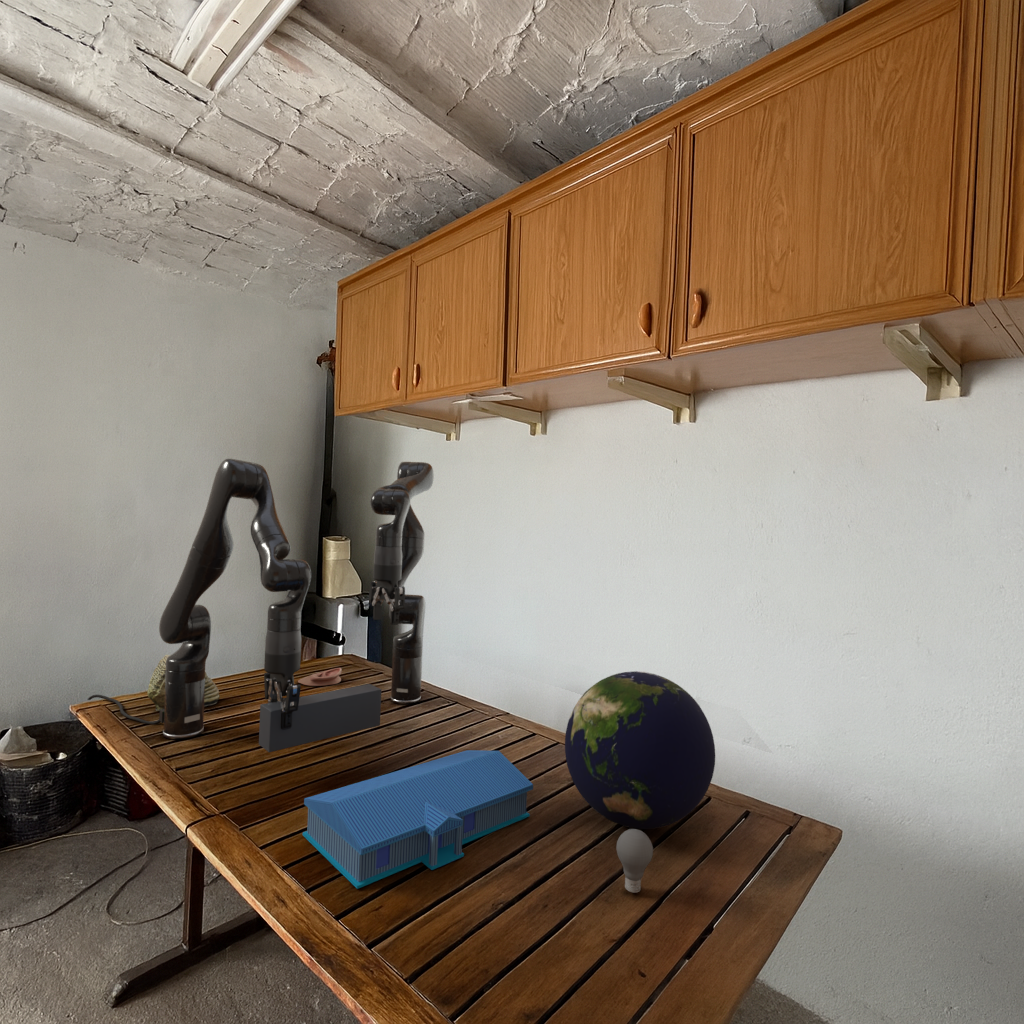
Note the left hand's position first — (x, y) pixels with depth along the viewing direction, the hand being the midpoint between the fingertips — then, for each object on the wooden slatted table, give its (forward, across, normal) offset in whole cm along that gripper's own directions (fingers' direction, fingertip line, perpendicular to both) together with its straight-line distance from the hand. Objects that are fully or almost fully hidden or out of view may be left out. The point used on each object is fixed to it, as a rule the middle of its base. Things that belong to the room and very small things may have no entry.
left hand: (280, 724), depth 141 cm
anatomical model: (+13, +62, -41) cm, 76 cm away
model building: (+12, -38, -13) cm, 42 cm away
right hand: (-17, +12, -34) cm, 40 cm away
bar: (+5, 0, -10) cm, 11 cm away
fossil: (+13, +62, +2) cm, 64 cm away
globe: (+12, -62, -48) cm, 79 cm away
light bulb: (+12, -75, -28) cm, 81 cm away
